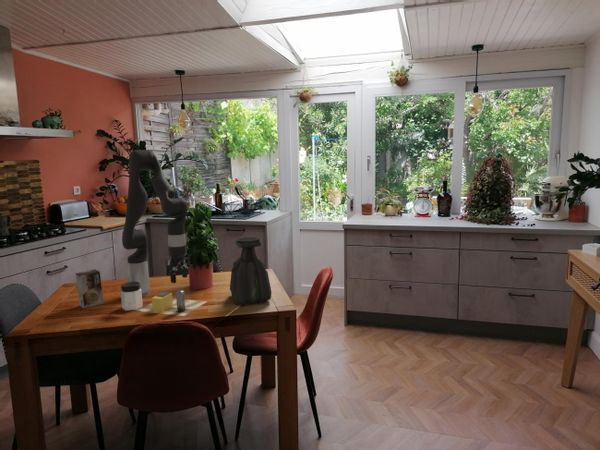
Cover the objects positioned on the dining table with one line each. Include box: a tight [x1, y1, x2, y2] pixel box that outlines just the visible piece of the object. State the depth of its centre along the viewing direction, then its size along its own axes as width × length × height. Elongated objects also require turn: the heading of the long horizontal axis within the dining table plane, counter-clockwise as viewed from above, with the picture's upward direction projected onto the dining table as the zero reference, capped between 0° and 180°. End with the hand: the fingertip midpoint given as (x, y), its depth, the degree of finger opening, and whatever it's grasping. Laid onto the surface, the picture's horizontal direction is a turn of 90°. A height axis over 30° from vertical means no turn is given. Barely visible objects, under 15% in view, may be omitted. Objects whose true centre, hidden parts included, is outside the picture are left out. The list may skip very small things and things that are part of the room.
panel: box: [136, 297, 207, 317], centre depth 197 cm, size 25×19×1 cm
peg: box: [175, 289, 186, 312], centre depth 190 cm, size 4×4×9 cm
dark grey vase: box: [229, 236, 272, 307], centre depth 203 cm, size 18×16×30 cm
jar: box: [120, 281, 144, 311], centre depth 196 cm, size 9×8×12 cm
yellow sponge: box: [151, 291, 173, 312], centre depth 194 cm, size 5×8×6 cm, turn 162°
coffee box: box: [75, 268, 104, 309], centre depth 204 cm, size 9×6×16 cm
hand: (179, 280), depth 189 cm, fingers open, 8 cm apart
